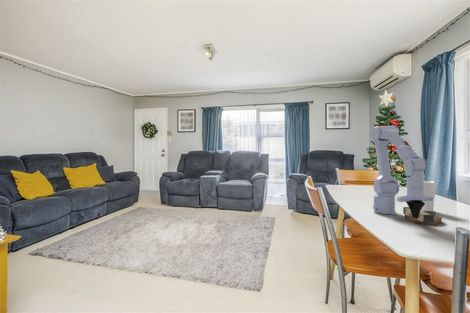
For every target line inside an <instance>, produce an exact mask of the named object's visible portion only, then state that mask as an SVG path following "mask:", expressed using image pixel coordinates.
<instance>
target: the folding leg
mask: <svg viewBox="0 0 470 313" xmlns="http://www.w3.org/2000/svg"><path fill="white" fill-rule="evenodd" d="M402 212H403V213H402V214H403V215H404V216H405V215H407V216H409V217H412V213H411V210H410V208H409V206H404V207H403V211H402ZM412 218H413V217H412ZM414 219H416V218H414ZM417 220H419V221H422V222H424V223H434V215H430V214H427V213H424V211H420V213H419V216H418V219H417Z"/></svg>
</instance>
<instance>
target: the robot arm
mask: <svg viewBox="0 0 470 313" xmlns="http://www.w3.org/2000/svg"><path fill="white" fill-rule="evenodd" d="M399 133H400V129H399V128H398V126H396V125H380V126H379V125H376V126H374V127H373V130H372V132H371V135H372V143H373V144H374V146H375V154H376V162H377V168H378V170H377V171H378V177H376V178H375V179H374V180H373V182H374V185H373V191H374V192H375V194H373V205H372V210H373V213H375V214H381V215H382V214H383V215H394V216H395V215H396V216H397V215H398V213H397V212H396V201H397V202H399V203H403V202H405V203H406V205H407V207H409V208H410V210H411V213H412V217H413V218H416V219H418V216H419V213H420V211H421V209H422V207H423V206H424V205H425V203H424V202H422V201H434V202H435V197H434V196H430V195H429V196H425V195H424V181H425V180H424V179H425V176H424V175H425V174H424V172H426V170H427V169H428V161H427V159H426V158H424V157H421V156H419V155H418V154H417V153H416V152H415V151H414V149H413V148H412V146H411V145H408V144H405V142H404V140H403V139H402V137H401V136H400V134H399ZM390 143H391V144H392V145H393V146H394V147H395V148H396V149H397V150H396V154H397V156H398V157H399V158H400V159H401V161H402V162H403V164H402V166H403V170H404V173H405V176H406V195H403V196H402V195H401V196H397V194H398V193H399V192H400V186H399V184H398V180H397V178H396V177H394V176H393V175H392V172H391V164H390V159H389V150H388V145H389V144H390Z"/></svg>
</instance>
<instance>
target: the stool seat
mask: <svg viewBox="0 0 470 313" xmlns="http://www.w3.org/2000/svg"><path fill="white" fill-rule="evenodd" d="M423 212H424V213H427V214H430V215H434V223H424V222H422V221H419V220H417V219H414V218H412V217H409V216H407V215H405V214H404V220H405V221H407V222H411V223H413V224H418V225H424V226H425V225H426V226H438V225H440V226H441V225H442V223H443V222H442V221H443V218H442V217H441V216H439V215H437V212H436V211H435V210H433V211H429V210H424V211H423Z"/></svg>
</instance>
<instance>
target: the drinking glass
mask: <svg viewBox="0 0 470 313" xmlns="http://www.w3.org/2000/svg"><path fill="white" fill-rule="evenodd" d="M424 195H425V196H429V195H430V196H434V198H435V195H436V182H435V181H432V180H431V181H429V180H424ZM422 202H424V203H425V205H424V206H423V207H422V209H421V211H422V212H424V210H429V211H434V207H435V206H434V205H435V200H434V201H422Z"/></svg>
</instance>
